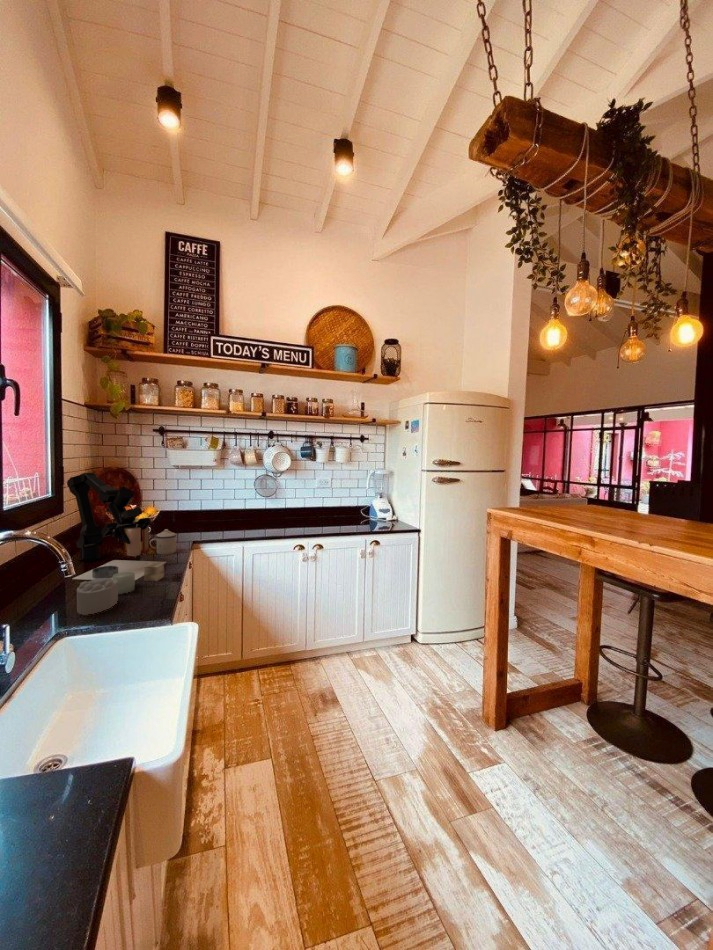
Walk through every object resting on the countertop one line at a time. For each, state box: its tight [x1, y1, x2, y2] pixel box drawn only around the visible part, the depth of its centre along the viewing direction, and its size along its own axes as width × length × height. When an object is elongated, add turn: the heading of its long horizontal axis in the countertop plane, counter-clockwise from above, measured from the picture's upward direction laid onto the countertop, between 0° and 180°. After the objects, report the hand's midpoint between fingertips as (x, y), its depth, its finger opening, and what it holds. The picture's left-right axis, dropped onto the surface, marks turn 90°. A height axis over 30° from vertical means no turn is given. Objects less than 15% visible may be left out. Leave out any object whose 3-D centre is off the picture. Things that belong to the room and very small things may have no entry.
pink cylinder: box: [126, 527, 142, 557], centre depth 167 cm, size 5×5×11 cm
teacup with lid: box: [149, 528, 177, 555], centre depth 199 cm, size 12×9×12 cm
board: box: [72, 559, 167, 584], centre depth 166 cm, size 24×26×2 cm
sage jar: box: [113, 572, 136, 595], centre depth 147 cm, size 7×7×6 cm
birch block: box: [143, 563, 165, 582], centre depth 157 cm, size 5×5×7 cm
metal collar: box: [92, 566, 118, 578], centre depth 159 cm, size 9×9×2 cm
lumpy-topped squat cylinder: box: [76, 578, 119, 616], centre depth 132 cm, size 10×13×9 cm
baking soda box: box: [123, 518, 150, 554], centre depth 200 cm, size 10×6×16 cm
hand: (135, 542), depth 167 cm, fingers closed on pink cylinder, 5 cm apart
